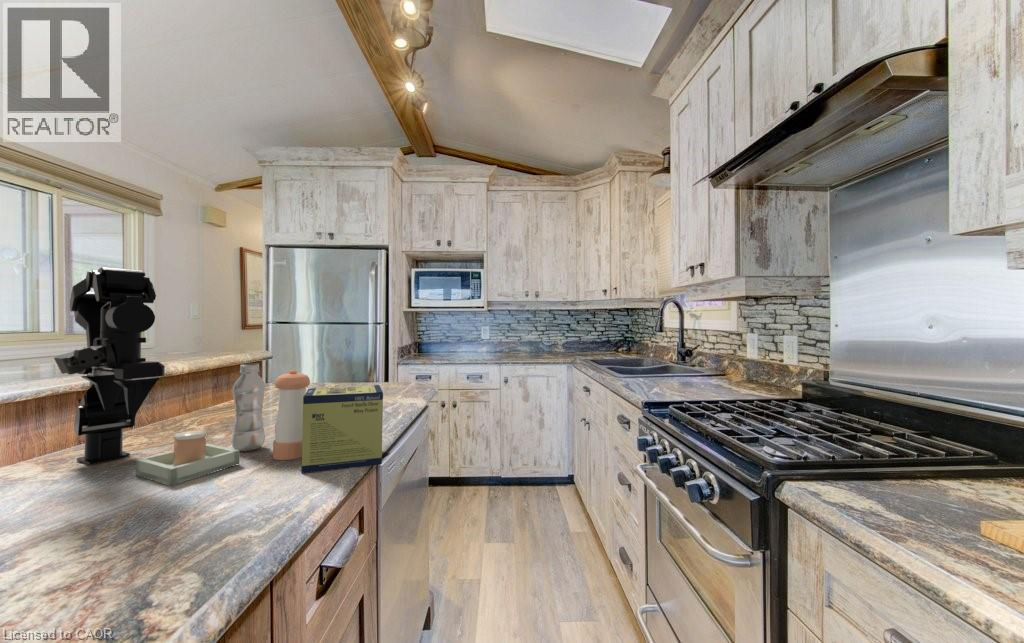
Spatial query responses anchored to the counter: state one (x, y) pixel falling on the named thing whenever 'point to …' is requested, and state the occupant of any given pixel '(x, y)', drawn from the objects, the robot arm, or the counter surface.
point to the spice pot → (189, 447)
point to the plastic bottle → (248, 409)
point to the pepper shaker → (289, 415)
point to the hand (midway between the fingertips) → (119, 412)
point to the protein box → (342, 428)
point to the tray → (185, 465)
